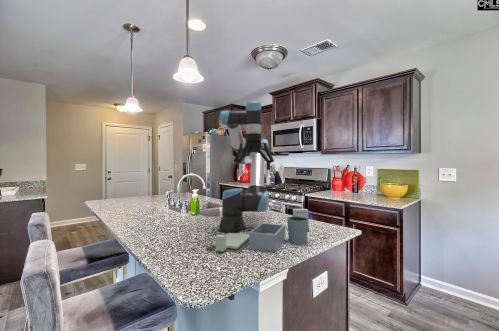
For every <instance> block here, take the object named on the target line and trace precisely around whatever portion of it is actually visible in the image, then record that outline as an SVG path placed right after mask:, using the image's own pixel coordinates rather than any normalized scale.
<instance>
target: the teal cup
mask: <svg viewBox="0 0 499 331" xmlns="http://www.w3.org/2000/svg"><path fill="white" fill-rule="evenodd" d="M308 221H309V217H308V218H306V217H300V216H293V215H292V216H289V217H287V218H286V222H287V234H288V235H287V236H288V243H290V244H291V245H300V246H301V245H306V244H307V243H308V232H309V231H308Z"/></svg>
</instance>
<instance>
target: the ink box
mask: <svg viewBox="0 0 499 331" xmlns="http://www.w3.org/2000/svg"><path fill="white" fill-rule="evenodd" d="M292 216H300V217H306V218H308V219H309V210H308V209H307V208H293V209H292ZM309 221H310V220H308V232H309V229H310V228H309V227H310V226H309Z"/></svg>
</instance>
